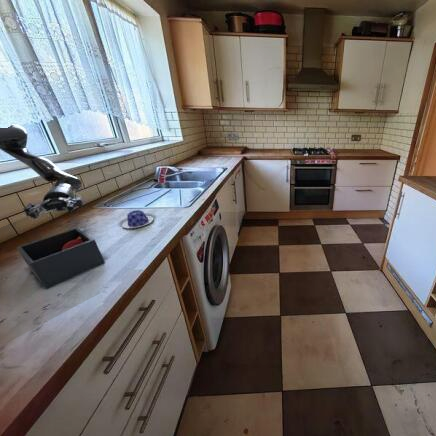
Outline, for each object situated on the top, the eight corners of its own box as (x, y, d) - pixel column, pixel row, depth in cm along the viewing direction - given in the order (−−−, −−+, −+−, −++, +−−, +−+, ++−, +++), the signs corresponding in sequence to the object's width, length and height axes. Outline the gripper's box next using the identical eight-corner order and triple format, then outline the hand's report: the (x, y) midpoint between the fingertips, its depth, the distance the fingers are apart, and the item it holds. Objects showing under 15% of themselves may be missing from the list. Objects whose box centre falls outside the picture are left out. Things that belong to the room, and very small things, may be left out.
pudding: (127, 232, 94) (123, 221, 92) (118, 223, 101) (114, 213, 98) (158, 222, 102) (155, 211, 100) (147, 215, 109) (144, 205, 107)
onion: (83, 263, 77) (94, 240, 80) (75, 261, 72) (87, 237, 75) (62, 259, 75) (74, 236, 78) (52, 257, 70) (66, 233, 73)
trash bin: (46, 289, 65) (29, 263, 61) (31, 271, 72) (16, 247, 68) (105, 262, 76) (94, 239, 72) (87, 249, 83) (77, 227, 79)
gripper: (88, 202, 91) (84, 217, 79) (39, 211, 84) (26, 228, 72) (80, 184, 88) (75, 197, 76) (28, 192, 80) (13, 206, 69)
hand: (51, 212), depth 74 cm, fingers open, 8 cm apart
